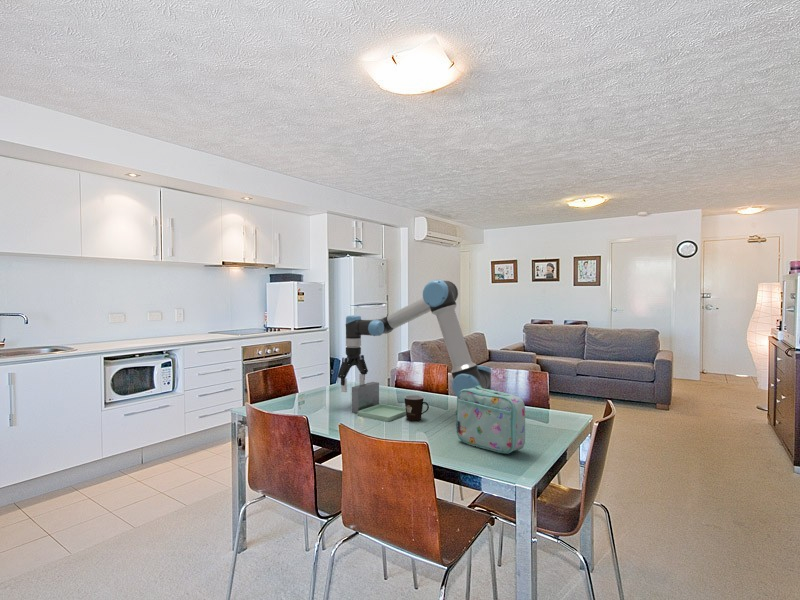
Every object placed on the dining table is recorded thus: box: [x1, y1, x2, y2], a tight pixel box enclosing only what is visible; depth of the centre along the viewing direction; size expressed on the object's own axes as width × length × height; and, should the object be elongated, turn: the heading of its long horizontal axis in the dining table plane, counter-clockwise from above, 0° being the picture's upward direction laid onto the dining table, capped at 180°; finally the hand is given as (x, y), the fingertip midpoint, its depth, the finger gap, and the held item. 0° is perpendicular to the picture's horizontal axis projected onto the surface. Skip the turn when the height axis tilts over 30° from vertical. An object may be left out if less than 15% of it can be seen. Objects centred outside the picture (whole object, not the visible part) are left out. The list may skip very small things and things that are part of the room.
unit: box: [351, 381, 380, 414], centre depth 215 cm, size 4×16×12 cm, turn 145°
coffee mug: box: [403, 394, 430, 423], centre depth 196 cm, size 12×9×10 cm
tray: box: [357, 403, 406, 423], centre depth 206 cm, size 18×18×2 cm
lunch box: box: [454, 386, 526, 454], centre depth 162 cm, size 27×10×21 cm, turn 45°
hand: (353, 389), depth 219 cm, fingers open, 13 cm apart
